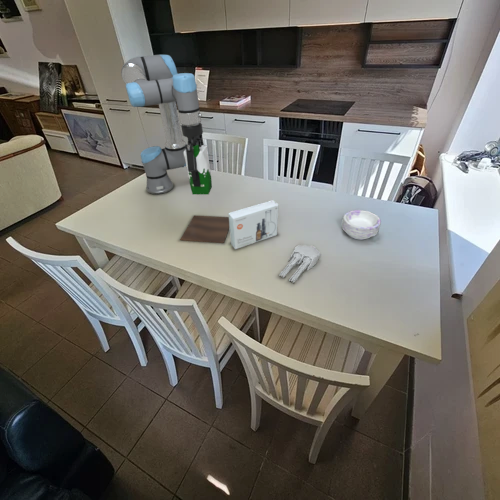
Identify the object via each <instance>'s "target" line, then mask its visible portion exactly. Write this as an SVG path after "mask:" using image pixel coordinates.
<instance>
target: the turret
mask: <svg viewBox="0 0 500 500" xmlns="http://www.w3.org/2000/svg"><path fill="white" fill-rule="evenodd" d="M321 255H322V253H321V252H320V251H319V249H317V248H316V246H314V245H310V244H299V245H296V246H295V247H294V249H293V251H292V253H291V255H290V257H289V259H288V261H287V265H286V266H285V267H284V268H283V270H282V271H280V273H279V275H278V277H282V278H283V279H284V278H285V277H286V276H287V275H288V274H289V273H290V271H291V270H292V269H293V268H294V267H295V266H296V265H299V267H298V268H297V269H296V271H294V273H293V274H292V276H290V278H289V280H288V282H291V283H292V284H294V283H295V282H296V281H297V279H298V278H299V277H300V276H301V274H303V272H304V271H305V270H306V271H309V270H311V269H312V268H313V267H315V266H316V264H317V263H318V261H319V259H320V258H321Z"/></svg>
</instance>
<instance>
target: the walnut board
mask: <svg viewBox="0 0 500 500" xmlns="http://www.w3.org/2000/svg"><path fill="white" fill-rule="evenodd" d="M229 232H230V229H229V216H213V215H211V216H210V215H193V216H192V218H191V220H190V222H189V224H188V225H187V226H186V229H185V230H184V232H183V234H182V235H181V237H180V239H179V240H180V241H184V242H199V243H212V244H213V243H214V244H225V242H226V238H227V236H228V233H229Z"/></svg>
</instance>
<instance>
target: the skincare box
mask: <svg viewBox="0 0 500 500" xmlns="http://www.w3.org/2000/svg"><path fill="white" fill-rule="evenodd" d="M279 207H280V205H279V203H277V202H276V201H275V200H274V199H271V200H269V201H268V200H267V201H264V202H261V203H258V204H254V205H250V206H248V207H247V206H246V207H244V208H241V209H237V210H233V211H231V212H228V213H227V216H228V217H229V238H230V239H229V240H230V245H231V247H233V249H234V250H238V249H240V248H244V247H246V246H249V245H252V244H255V243H258V242H261V241H263V240H266V239H267V240H268V239H269V238H273V237H275V236H277V235H278V225H279V224H278V222H279Z"/></svg>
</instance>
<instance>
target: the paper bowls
mask: <svg viewBox="0 0 500 500" xmlns="http://www.w3.org/2000/svg"><path fill="white" fill-rule="evenodd" d="M381 224H382V220H381V218H380V217H379V215H377V214H375V213H374V212H371V211H368V210H363V209H354V210H349V211H347V212H346V213H344V214H343V216H342V222H341V228H342V230H343V231H344V232H345V233H346V234H347V236H349V237H350V238H353V239H355V240H368V239H369V238H373V237H375V236H376V235H377V234H378V233H379V231H380V227H381Z"/></svg>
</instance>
